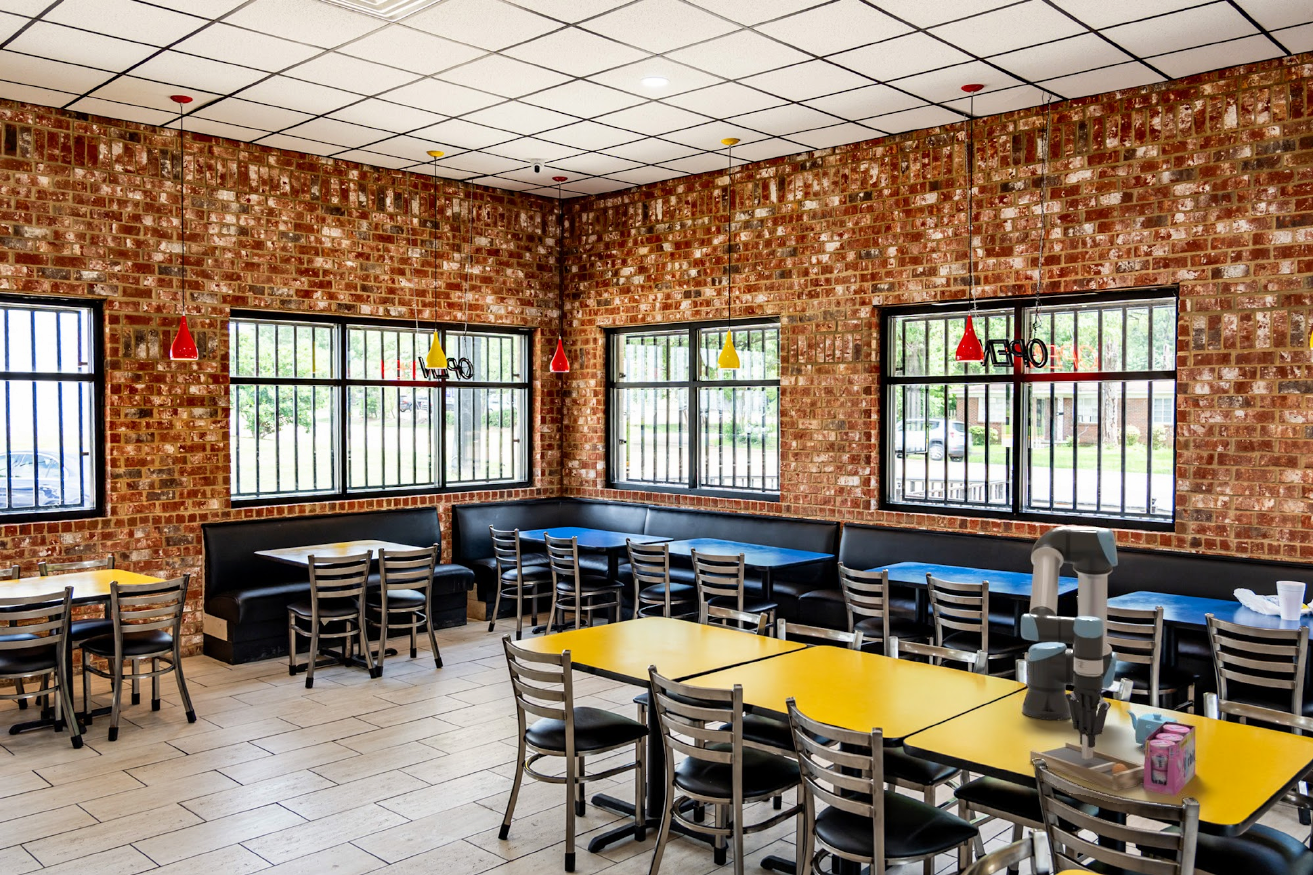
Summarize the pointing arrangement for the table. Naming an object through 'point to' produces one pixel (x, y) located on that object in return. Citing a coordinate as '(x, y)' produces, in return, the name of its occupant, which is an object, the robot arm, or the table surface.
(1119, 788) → the lane rails
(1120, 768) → the ball
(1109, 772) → the mat
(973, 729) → the table surface
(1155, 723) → the teapot
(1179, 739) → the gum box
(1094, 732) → the robot arm
